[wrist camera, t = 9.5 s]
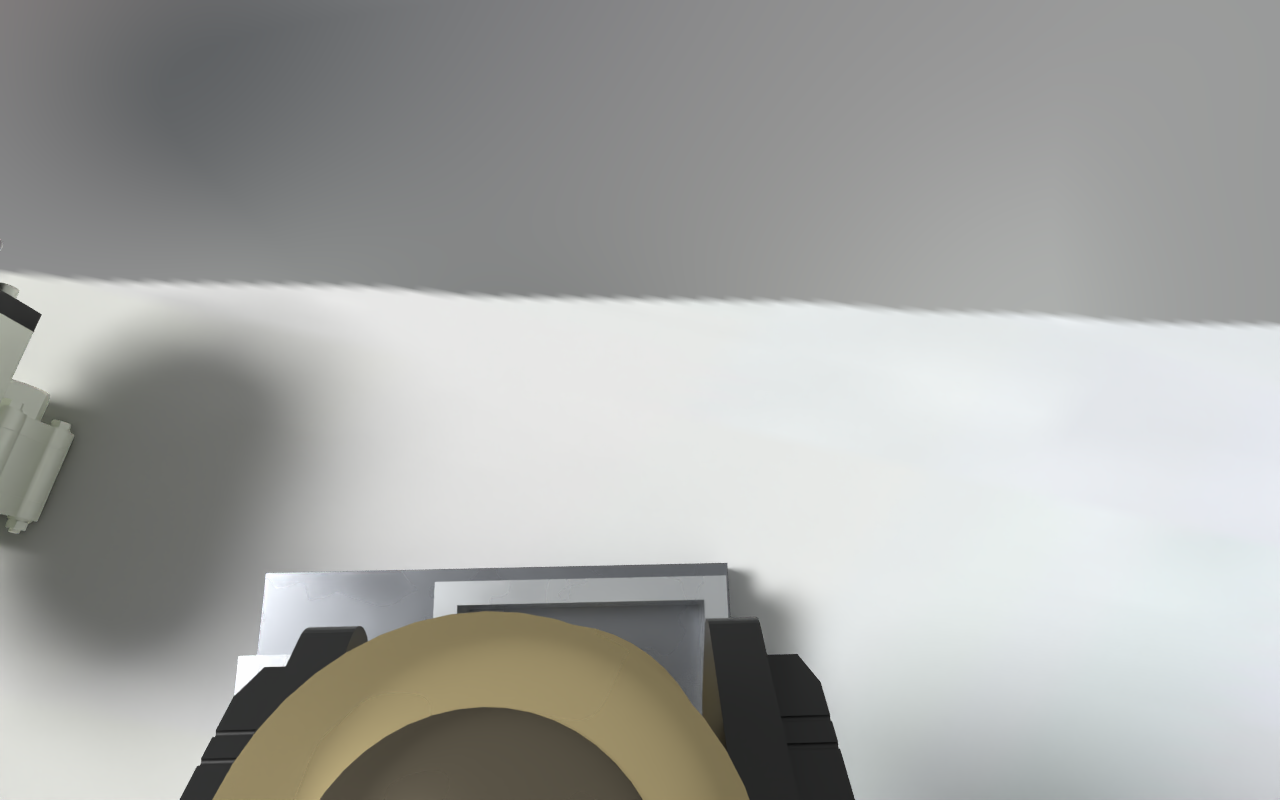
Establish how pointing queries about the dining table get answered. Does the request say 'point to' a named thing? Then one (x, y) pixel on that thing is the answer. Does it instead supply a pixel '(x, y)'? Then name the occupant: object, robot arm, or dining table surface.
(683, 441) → the dining table surface
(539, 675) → the brass fitting
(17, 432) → the pneumatic valve
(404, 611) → the plate
